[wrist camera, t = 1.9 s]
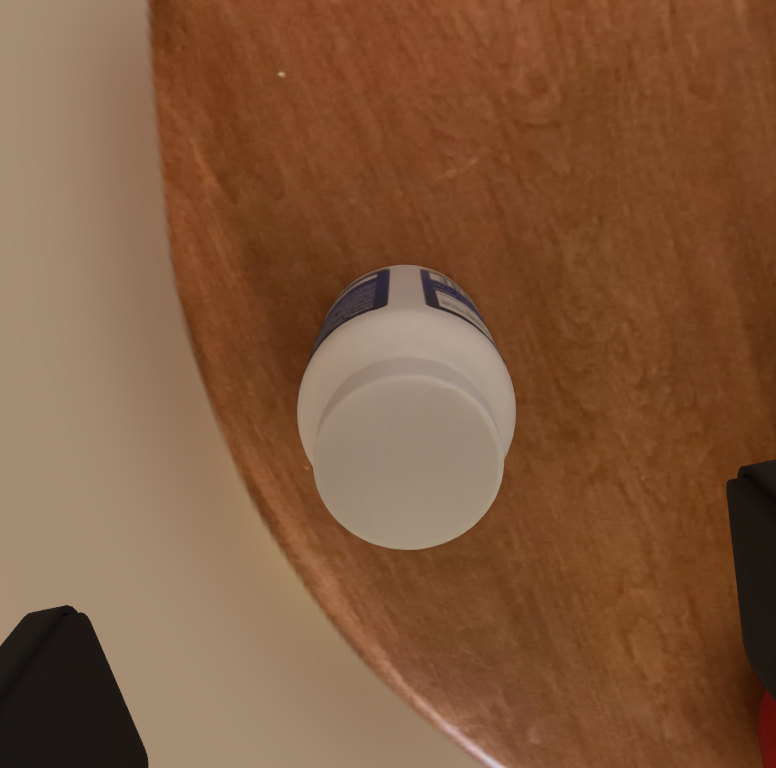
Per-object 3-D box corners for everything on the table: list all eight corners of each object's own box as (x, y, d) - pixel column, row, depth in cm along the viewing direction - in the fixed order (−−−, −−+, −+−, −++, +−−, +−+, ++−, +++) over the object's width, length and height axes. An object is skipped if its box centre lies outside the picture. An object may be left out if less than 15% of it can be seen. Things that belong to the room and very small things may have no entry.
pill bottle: (327, 420, 25) (284, 582, 16) (317, 264, 23) (264, 343, 14) (483, 416, 25) (534, 578, 16) (486, 260, 23) (543, 337, 14)
